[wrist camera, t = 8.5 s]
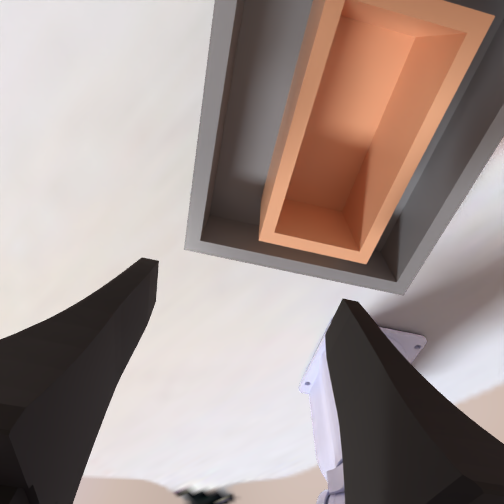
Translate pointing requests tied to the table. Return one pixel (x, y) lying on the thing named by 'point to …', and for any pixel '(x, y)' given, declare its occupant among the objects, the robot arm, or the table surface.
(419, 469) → the robot arm
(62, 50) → the table surface
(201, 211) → the big crate
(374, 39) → the box
